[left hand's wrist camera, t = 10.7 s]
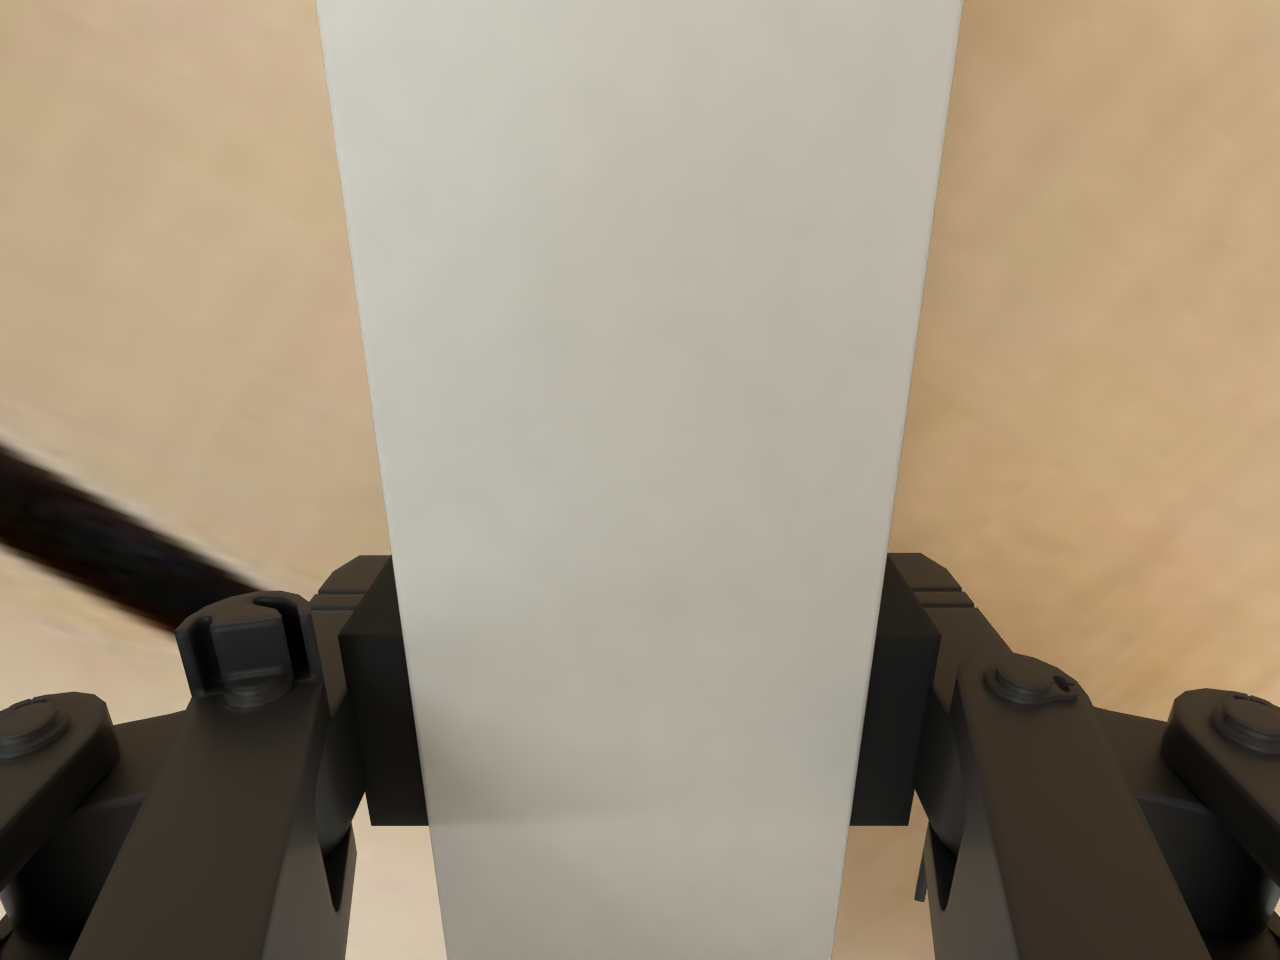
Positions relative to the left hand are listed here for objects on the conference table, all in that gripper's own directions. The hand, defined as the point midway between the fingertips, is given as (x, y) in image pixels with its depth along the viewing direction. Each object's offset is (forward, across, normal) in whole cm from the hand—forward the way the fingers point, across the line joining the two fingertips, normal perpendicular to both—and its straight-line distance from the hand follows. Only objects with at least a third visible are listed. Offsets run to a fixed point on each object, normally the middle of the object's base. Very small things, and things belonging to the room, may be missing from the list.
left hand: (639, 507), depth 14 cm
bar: (+1, 0, -31) cm, 31 cm away
